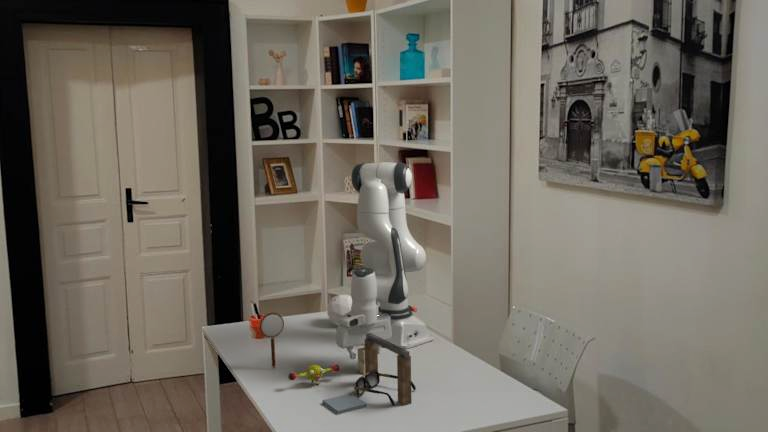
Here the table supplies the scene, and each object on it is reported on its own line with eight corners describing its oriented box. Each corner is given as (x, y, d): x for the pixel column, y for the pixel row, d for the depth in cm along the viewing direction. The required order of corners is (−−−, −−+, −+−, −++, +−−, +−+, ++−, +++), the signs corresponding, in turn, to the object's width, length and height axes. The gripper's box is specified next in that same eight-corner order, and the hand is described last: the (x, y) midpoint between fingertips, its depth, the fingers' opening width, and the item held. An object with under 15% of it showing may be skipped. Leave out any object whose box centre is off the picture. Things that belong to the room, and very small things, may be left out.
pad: (350, 396, 237) (350, 393, 236) (367, 406, 228) (367, 403, 228) (322, 403, 231) (322, 400, 231) (338, 414, 223) (337, 411, 223)
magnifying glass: (262, 371, 260) (260, 315, 257) (261, 370, 261) (258, 314, 258) (286, 367, 264) (284, 311, 261) (284, 365, 265) (282, 310, 262)
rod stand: (373, 381, 249) (372, 337, 247) (411, 403, 230) (410, 356, 228) (365, 382, 247) (364, 339, 245) (403, 405, 229) (402, 358, 226)
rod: (370, 337, 247) (370, 332, 246) (409, 356, 227) (409, 351, 227) (366, 338, 246) (365, 333, 246) (404, 357, 226) (404, 352, 226)
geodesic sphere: (342, 320, 299) (353, 289, 304) (314, 315, 306) (326, 285, 311) (359, 334, 310) (369, 303, 315) (332, 329, 317) (343, 299, 322)
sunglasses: (394, 406, 228) (393, 390, 227) (351, 396, 235) (351, 381, 235) (415, 390, 240) (415, 375, 239) (374, 382, 247) (374, 367, 247)
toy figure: (292, 392, 240) (291, 372, 239) (286, 387, 245) (285, 367, 244) (343, 382, 248) (343, 362, 247) (336, 377, 253) (336, 357, 252)
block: (368, 368, 261) (367, 346, 259) (374, 372, 257) (373, 349, 256) (358, 371, 259) (357, 348, 257) (364, 374, 255) (363, 351, 254)
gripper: (385, 310, 263) (385, 348, 264) (333, 318, 252) (334, 358, 254) (395, 314, 257) (395, 353, 259) (342, 323, 247) (343, 363, 248)
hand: (364, 356), depth 256 cm, fingers open, 8 cm apart
